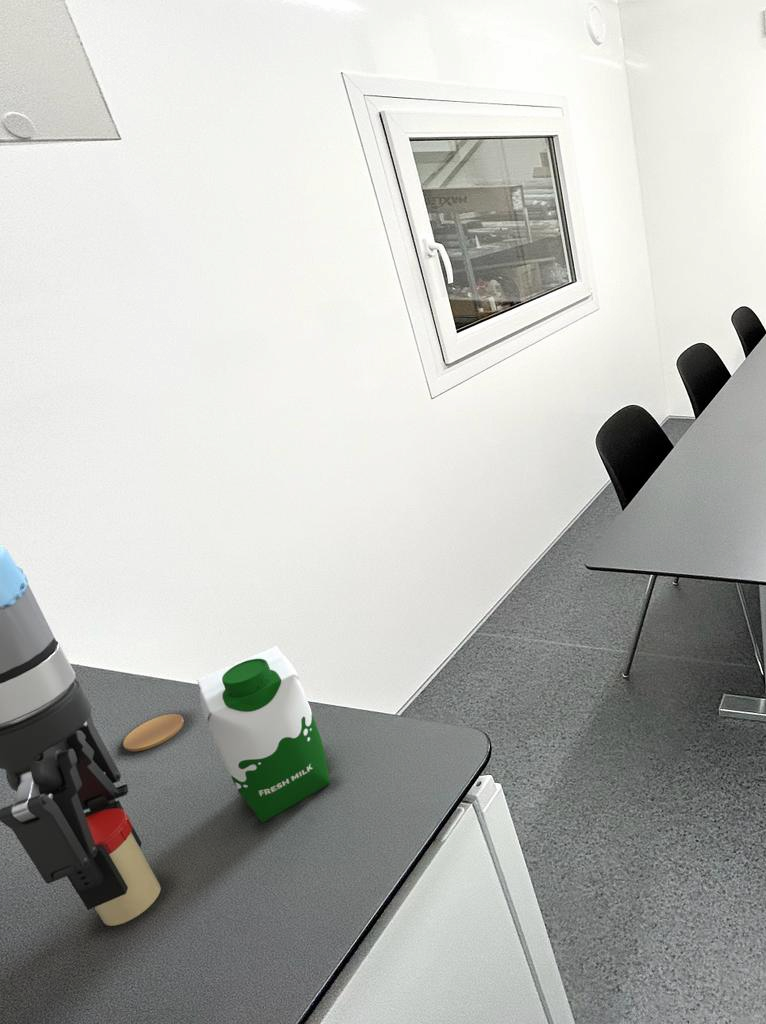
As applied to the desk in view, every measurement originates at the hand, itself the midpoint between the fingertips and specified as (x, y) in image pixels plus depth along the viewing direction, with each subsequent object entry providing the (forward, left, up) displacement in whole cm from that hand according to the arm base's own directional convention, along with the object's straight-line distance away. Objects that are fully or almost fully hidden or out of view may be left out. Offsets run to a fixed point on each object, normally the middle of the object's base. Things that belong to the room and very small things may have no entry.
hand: (115, 874), depth 65 cm
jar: (0, 0, -5) cm, 5 cm away
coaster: (-18, +23, -5) cm, 29 cm away
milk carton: (+7, +14, -5) cm, 16 cm away
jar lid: (0, 0, +6) cm, 6 cm away
